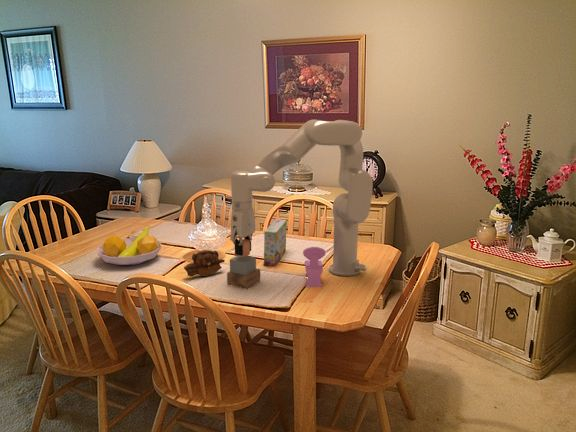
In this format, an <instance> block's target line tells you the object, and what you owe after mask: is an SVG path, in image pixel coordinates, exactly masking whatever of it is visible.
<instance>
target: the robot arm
mask: <svg viewBox="0 0 576 432" xmlns="http://www.w3.org/2000/svg"><path fill="white" fill-rule="evenodd" d="M362 137H363V129H362V127H361V126H360V124H359V123H357V122H355V121H351V120H345V119H337V120H334V121H330V120H329V121H328V120H327V121H326V120H320V119H309V120H308V121H306V122H305V123H304V124H303V125H301V127H299V128H298V129H297V130H296V131H295V132H294V133H293V134H292V135H291V136H290V137H289V138H288V139H287V140H286V141H285V142H283V143H282V144H281V145H279V146H278V147H277V148H275V149H274V150H272V151H270V153H268V154H266V155H265V156H264V157H263V158H261V160H260V161H259V162H257V164H256V165H254V166H253V167H252V168H251V170H250V171H248V170H235V171H233V172H231V175H230V186H231V193H230V194H231V217H230V233H231V235H230V238H229V240H230V241H232V243H233V245H234V255H236V256H238V255H240V256H242V255H243V245H241V244H242V239H247V240H249V241H250V252H251V251H252V240H253V238H252V237H253V234H254V233H255V232H256V216H255V211H254V207H253V205H254V203H253V192H261V193H262V192H263V193H265V192H269V191H271V190H273V188H274V187H275V185H276V179H275V176H274V174H275V173H277V172H278V171H280V170H281V169H283V168H285V167H287V166H291V165H295V164H296V163H298V162H300V161H301V159H303V158H305V156H306V155H307V154H308V153H309V152H310V151H311V150H312V149H314V147H315V146H317V145H318V146H328V147H329V146H333V147H334V146H338V147H339V150H340V160H339V161H340V162H339V163H340V164H339V173H338V184H339V186H340V187H341V188H342V189H343V190H344V191H346V192H344V193H343V192H342V193H340V194H339V195H337V196H335V198H334V200H333V203H332V214H333V246H332V247H333V250H332V253H333V254H332V255H333V256H332V264H330V265H329V267H328V271H329V273H331V274H332V275H335V276H342V277H349V276H350V277H351V276H356V275H359V274H360V272H366V271H367V265H366V264H363V263H362V264H361V263H360V260H359V259H358V242H359V241H358V238H359V224H362V223H364V222H365V221H366V220H367V219H368V217H369V214H370V210H371V206H372V205H371V204H372V196H373V195H372V194H373V189H374V188H373V187H374V186H373V185H374V184H373V179H372V178H373V177H372V176H371V175H370V173H369V172H368V171H366V170H364V169H363V166H364V165H363V164H364V147H363V144H362V140H361V139H362ZM238 240H239V241H238Z"/></svg>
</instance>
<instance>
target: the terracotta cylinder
mask: <svg viewBox="0 0 576 432" xmlns="http://www.w3.org/2000/svg"><path fill="white" fill-rule="evenodd" d="M238 241H239V239H238ZM241 245H243V255H242V256H251V255H250V253H251V251H250V241H249V240H247V239H244V238H242V244H241ZM237 256H240V255H237Z"/></svg>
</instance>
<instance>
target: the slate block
mask: <svg viewBox="0 0 576 432" xmlns="http://www.w3.org/2000/svg"><path fill="white" fill-rule="evenodd" d="M256 269H257V257H256V256H252V255H248V256H238V255H236V256H234V257H231V258H230V259H229V271H230V272H231V273H236V274H241V275H245V276H246V275H248V274H249V273H251V272H253V271H255V270H256Z"/></svg>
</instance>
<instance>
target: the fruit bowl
mask: <svg viewBox="0 0 576 432" xmlns="http://www.w3.org/2000/svg"><path fill="white" fill-rule="evenodd" d="M149 229H150V225H147V226H146V227H145V229H144V230H143V231H141V232H140V234H139V235H138V236H137V237H131V238H130V237H129V238H127V237H126V238H123V239H122V238H121V237H120V236H118V235H116V234H113V235H110V236H108V237H107V239H105V241H104V243H103V244H102V245H100V246H97V247H96V254H97V256H99V257H100V258H101V260H103V261H104V262H105V263H109V264H112V265H117V266H122V265H123V266H125V265H127V266H128V265H130V266H131V265H132V266H133V265H136V266H137V265H140V264H143V263H145V262H147V261H150V260H151V259H154V258H156V256H157V254H159V252H160V250H161V249H162V243H161V241H160V240H158V238H157V237H155V236H154V235H149V233H150V232H149Z"/></svg>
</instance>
